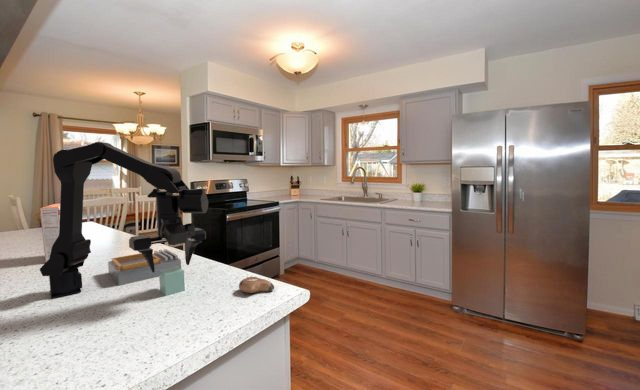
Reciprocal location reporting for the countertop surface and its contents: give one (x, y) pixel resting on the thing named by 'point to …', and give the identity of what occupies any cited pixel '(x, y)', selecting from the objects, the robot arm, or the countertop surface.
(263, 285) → the brown rounded lump
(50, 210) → the cracker box
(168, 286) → the mint green box
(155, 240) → the robot arm
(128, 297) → the countertop surface
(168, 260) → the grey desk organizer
